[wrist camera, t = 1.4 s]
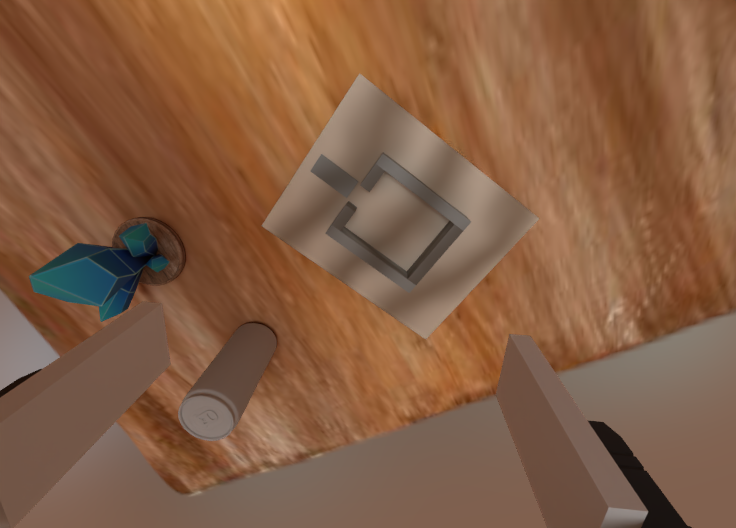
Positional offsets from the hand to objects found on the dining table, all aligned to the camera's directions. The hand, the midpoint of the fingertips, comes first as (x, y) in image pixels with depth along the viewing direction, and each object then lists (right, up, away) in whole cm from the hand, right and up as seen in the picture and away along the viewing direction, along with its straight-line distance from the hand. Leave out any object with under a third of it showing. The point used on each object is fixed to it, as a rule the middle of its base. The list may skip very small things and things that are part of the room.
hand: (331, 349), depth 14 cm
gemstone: (-21, +4, +24) cm, 32 cm away
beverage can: (-11, -5, +27) cm, 29 cm away
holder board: (+4, +7, +21) cm, 23 cm away
